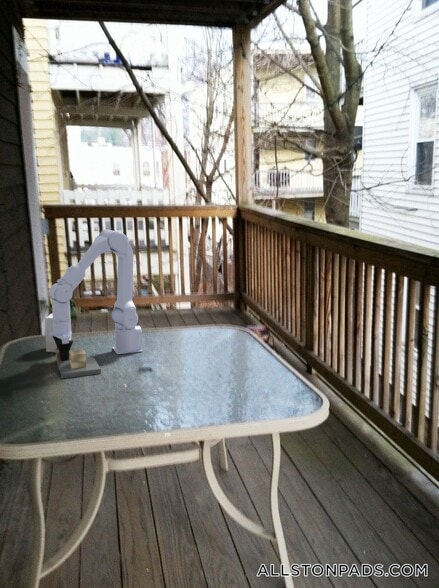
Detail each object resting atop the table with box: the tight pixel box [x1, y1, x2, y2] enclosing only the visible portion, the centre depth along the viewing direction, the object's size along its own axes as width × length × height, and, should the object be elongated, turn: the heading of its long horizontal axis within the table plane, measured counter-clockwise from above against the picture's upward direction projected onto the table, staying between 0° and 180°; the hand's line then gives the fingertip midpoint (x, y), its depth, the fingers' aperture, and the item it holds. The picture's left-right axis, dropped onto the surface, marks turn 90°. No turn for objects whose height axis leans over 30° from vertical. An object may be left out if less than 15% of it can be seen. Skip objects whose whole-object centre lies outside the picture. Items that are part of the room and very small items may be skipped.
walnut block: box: [55, 348, 72, 363], centre depth 179 cm, size 4×4×4 cm
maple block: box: [69, 348, 87, 368], centre depth 172 cm, size 4×4×4 cm
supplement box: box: [44, 313, 72, 353], centre depth 191 cm, size 7×7×13 cm
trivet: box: [56, 357, 102, 379], centre depth 172 cm, size 12×12×2 cm
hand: (63, 358), depth 179 cm, fingers closed on walnut block, 4 cm apart
